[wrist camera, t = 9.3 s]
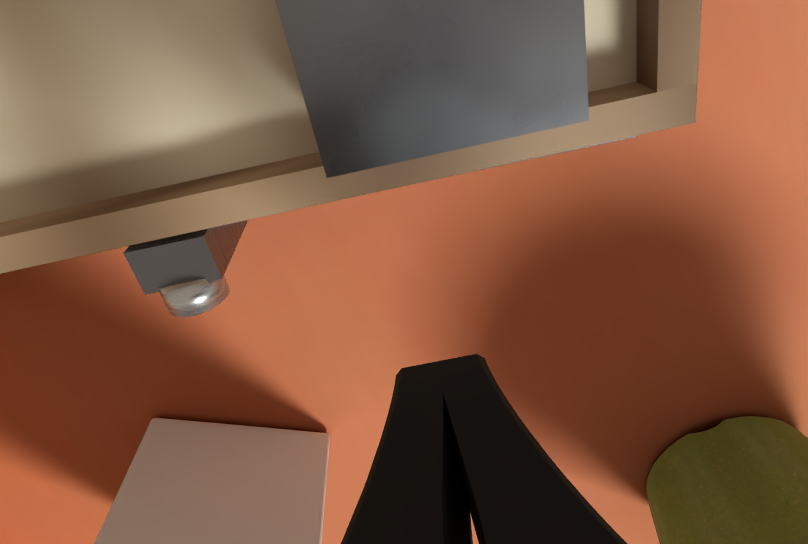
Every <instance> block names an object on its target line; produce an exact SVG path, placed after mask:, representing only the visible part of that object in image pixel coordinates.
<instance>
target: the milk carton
mask: <svg viewBox="0 0 808 544" xmlns="http://www.w3.org/2000/svg"><path fill="white" fill-rule="evenodd" d="M329 443H330V435H329V434H328V433H320V432H309V431H299V430H288V429H277V428H266V427H255V426H243V425H232V424H221V423H210V422H198V421H187V420H175V419H164V418H153V419H151V421H150V423H149V426H148V428H147V430H146V432H145V434H144V436H143V439H142V441H141V443H140V445H139V447H138V449H137V452H136V454H135V456H134V458H133V460H132V463H131V465H130V467H129V469H128V471H127V473H126V476H125V478H124V480H123V482H122V484H121V486H120V489H119V491H118V493H117V495H116V497H115V500H114V502H113V504H112V506H111V508H110V510H109V513H108V515H107V517H106V519H105V521H104V523H103V526H102V528H101V530H100V532H99V534H98V536H97V539H96V541H95V543H94V544H321V538H322V526H323V514H324V502H325V490H326V479H327V467H328V455H329Z"/></svg>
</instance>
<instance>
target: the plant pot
mask: <svg viewBox="0 0 808 544" xmlns="http://www.w3.org/2000/svg"><path fill="white" fill-rule="evenodd" d="M646 492H647V498H648V502H649V506H650V510H651V514H652V517H653V521H654V525H655V528H656V532H657V535H658V539H659V542H660V544H808V438H807V437H806V436H805V435H803V434H802V433H801V432H800V431H798V430H797V429H795V428H794V427H792V426H791V425H789V424H787V423H785V422H783V421H780V420H777V419H773V418H768V417H758V416H744V417H736V418H730V419H726V420H723V421H722V422H721V423H720V424H719V425H717V426H716V427H714V428H711V429H709V430H706V431H702V432H698V433H689V434H687V435H685V436H684V437H682V438H680V439H679V440H677V441H676V442H675V443H673V444H672V445H671V446H669V447H668V448H667V449H666V450H665V451H664V452H663V453H662V454H661V456H660V457H659V458H658V459H657V460H656V462H655V463H654V465H653V466H652V468H651V470H650V473H649V475H648V478H647V483H646Z"/></svg>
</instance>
